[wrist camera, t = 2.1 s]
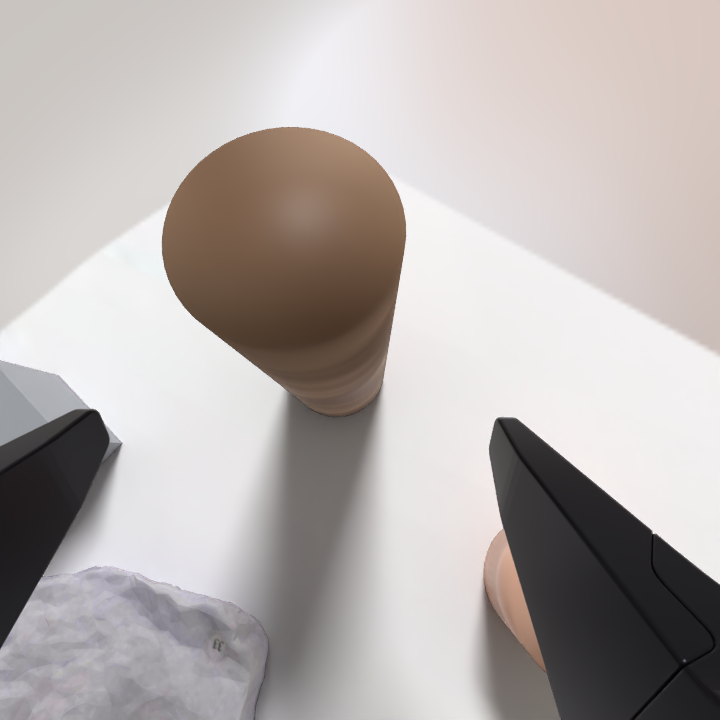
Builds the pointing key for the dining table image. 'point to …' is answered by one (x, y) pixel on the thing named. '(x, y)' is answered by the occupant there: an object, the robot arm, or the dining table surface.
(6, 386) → the grey faceted polyhedron
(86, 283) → the dining table surface
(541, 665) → the peach rounded knob part
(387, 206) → the walnut post
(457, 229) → the dining table surface
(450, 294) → the dining table surface
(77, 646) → the stone block
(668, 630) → the robot arm
